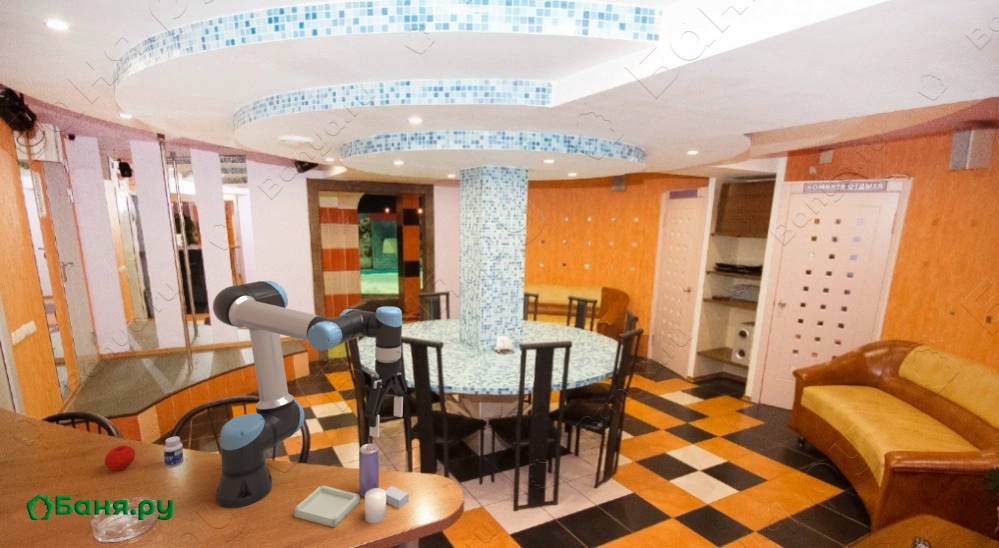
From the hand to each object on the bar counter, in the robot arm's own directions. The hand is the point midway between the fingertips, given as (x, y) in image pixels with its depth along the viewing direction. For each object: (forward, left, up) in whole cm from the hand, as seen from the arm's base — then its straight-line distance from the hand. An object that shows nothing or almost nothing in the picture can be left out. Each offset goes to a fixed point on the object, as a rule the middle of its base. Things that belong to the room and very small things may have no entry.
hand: (386, 425), depth 134 cm
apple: (-91, -16, -24) cm, 95 cm away
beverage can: (-7, +1, -24) cm, 25 cm away
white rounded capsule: (+1, -8, -24) cm, 26 cm away
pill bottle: (-78, -8, -24) cm, 82 cm away
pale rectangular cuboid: (+3, 0, -24) cm, 25 cm away
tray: (-14, -10, -24) cm, 30 cm away
